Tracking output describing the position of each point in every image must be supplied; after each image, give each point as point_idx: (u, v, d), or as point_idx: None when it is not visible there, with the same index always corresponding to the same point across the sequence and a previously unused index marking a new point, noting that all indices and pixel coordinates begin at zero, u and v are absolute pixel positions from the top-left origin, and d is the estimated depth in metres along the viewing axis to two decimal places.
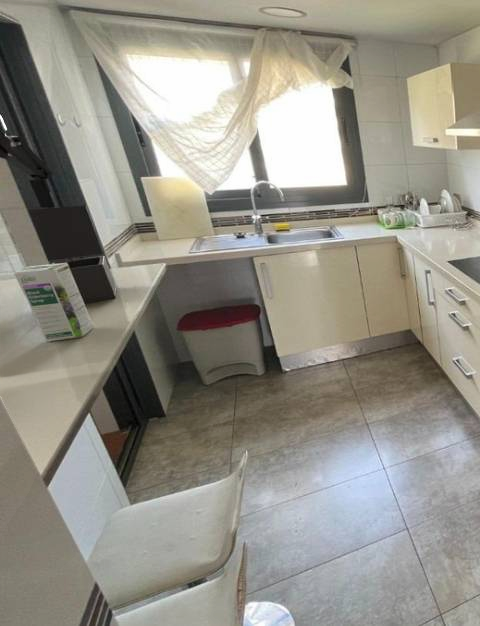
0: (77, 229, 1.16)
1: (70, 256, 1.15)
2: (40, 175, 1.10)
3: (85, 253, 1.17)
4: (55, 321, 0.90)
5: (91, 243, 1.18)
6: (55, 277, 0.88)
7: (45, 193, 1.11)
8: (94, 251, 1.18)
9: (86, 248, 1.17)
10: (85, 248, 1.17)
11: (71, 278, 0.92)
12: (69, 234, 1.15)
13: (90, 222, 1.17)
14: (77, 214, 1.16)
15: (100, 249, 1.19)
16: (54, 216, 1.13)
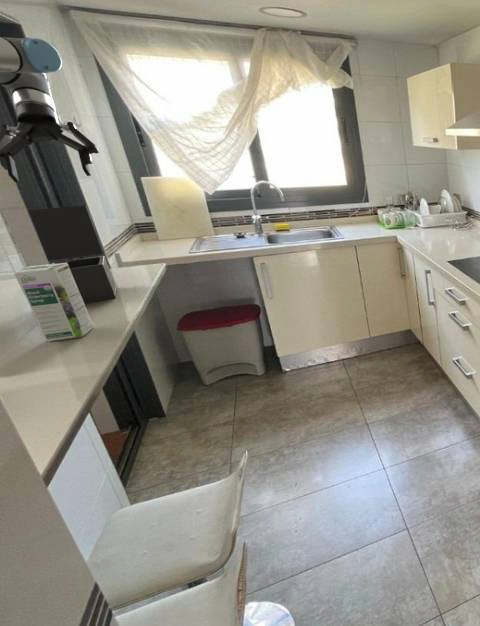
0: (77, 229, 1.16)
1: (70, 256, 1.15)
2: None
3: (85, 253, 1.17)
4: (55, 321, 0.90)
5: (91, 243, 1.18)
6: (55, 277, 0.88)
7: (16, 170, 1.17)
8: (94, 251, 1.18)
9: (86, 248, 1.17)
10: (85, 248, 1.17)
11: (71, 278, 0.92)
12: (69, 234, 1.15)
13: (90, 222, 1.17)
14: (77, 214, 1.16)
15: (100, 249, 1.19)
16: (54, 216, 1.13)
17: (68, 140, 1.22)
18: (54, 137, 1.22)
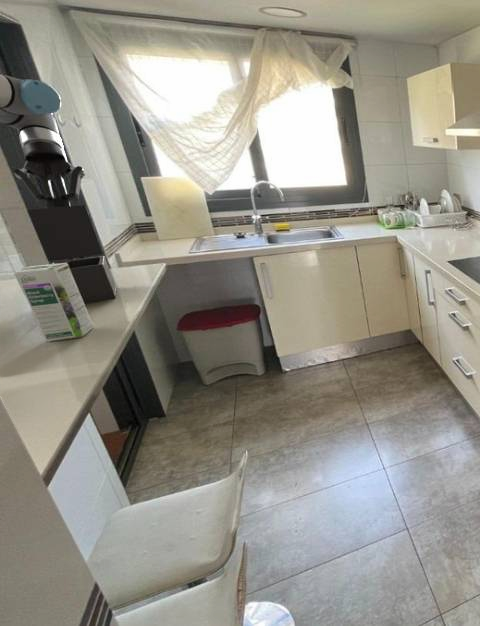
0: (77, 229, 1.15)
1: (70, 256, 1.15)
2: None
3: (85, 253, 1.17)
4: (55, 321, 0.90)
5: (91, 243, 1.17)
6: (55, 277, 0.88)
7: None
8: (94, 251, 1.18)
9: (86, 248, 1.17)
10: (85, 248, 1.17)
11: (71, 278, 0.92)
12: (69, 234, 1.15)
13: (90, 222, 1.17)
14: (77, 214, 1.15)
15: (100, 249, 1.19)
16: (53, 216, 1.12)
17: (58, 184, 1.18)
18: None
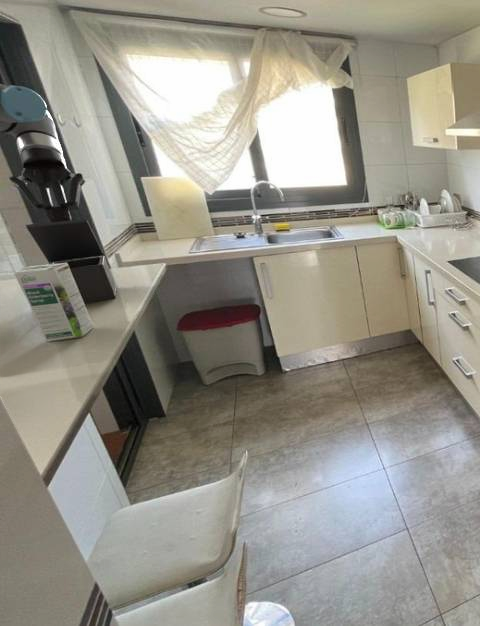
0: (78, 239, 1.12)
1: (71, 258, 1.15)
2: None
3: (86, 255, 1.17)
4: (55, 321, 0.90)
5: (92, 248, 1.16)
6: (55, 277, 0.88)
7: None
8: (95, 254, 1.18)
9: (87, 252, 1.16)
10: (86, 252, 1.16)
11: (71, 278, 0.92)
12: (70, 243, 1.12)
13: (92, 234, 1.13)
14: (78, 228, 1.10)
15: (101, 252, 1.18)
16: (54, 231, 1.08)
17: (57, 192, 1.13)
18: None
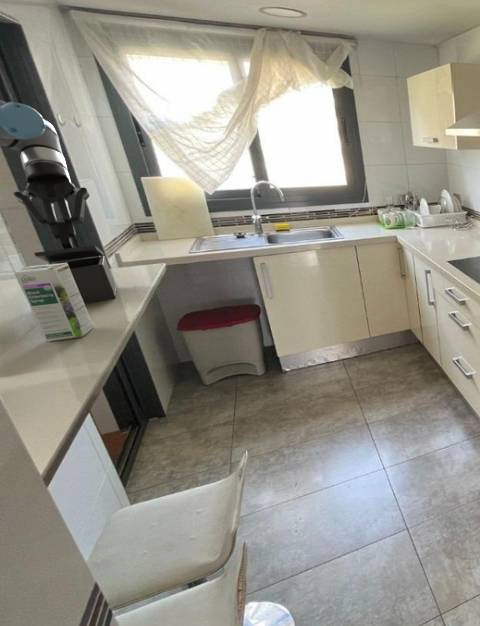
0: (83, 254, 1.12)
1: (71, 259, 1.15)
2: None
3: (86, 257, 1.17)
4: (55, 321, 0.90)
5: (95, 255, 1.16)
6: (55, 277, 0.88)
7: None
8: (96, 256, 1.18)
9: (88, 256, 1.16)
10: (88, 256, 1.16)
11: (71, 278, 0.92)
12: (74, 256, 1.12)
13: (97, 251, 1.13)
14: (86, 251, 1.10)
15: (102, 255, 1.18)
16: (61, 254, 1.08)
17: (62, 207, 1.12)
18: None
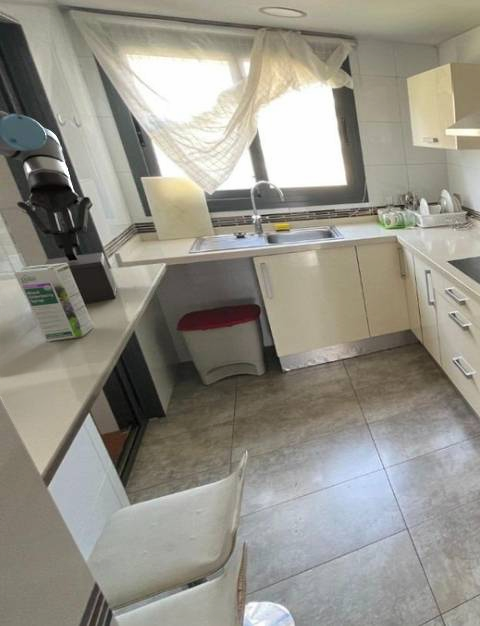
0: None
1: None
2: None
3: None
4: (55, 321, 0.90)
5: None
6: (55, 277, 0.88)
7: None
8: None
9: None
10: None
11: (71, 278, 0.92)
12: None
13: (101, 261, 1.14)
14: None
15: (102, 256, 1.19)
16: None
17: (65, 217, 1.12)
18: None
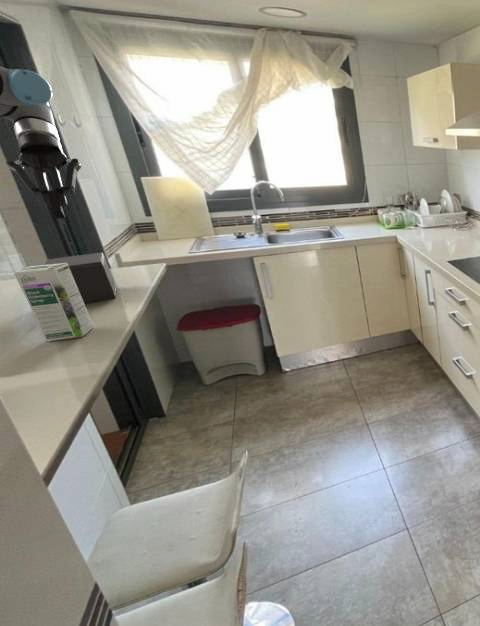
0: None
1: None
2: None
3: None
4: (55, 321, 0.90)
5: None
6: (55, 277, 0.88)
7: None
8: None
9: None
10: None
11: (71, 278, 0.92)
12: None
13: (101, 261, 1.14)
14: None
15: (102, 256, 1.19)
16: None
17: (54, 176, 1.15)
18: None
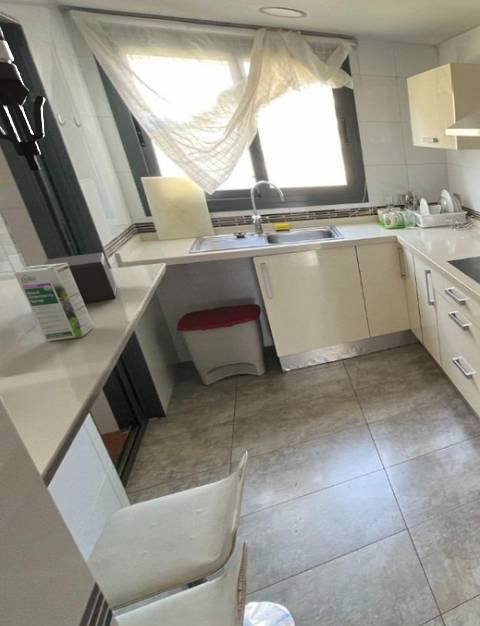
0: None
1: None
2: None
3: None
4: (55, 321, 0.90)
5: None
6: (55, 277, 0.88)
7: None
8: None
9: None
10: None
11: (71, 278, 0.92)
12: None
13: (101, 261, 1.14)
14: None
15: (102, 256, 1.19)
16: None
17: (21, 121, 1.08)
18: None
